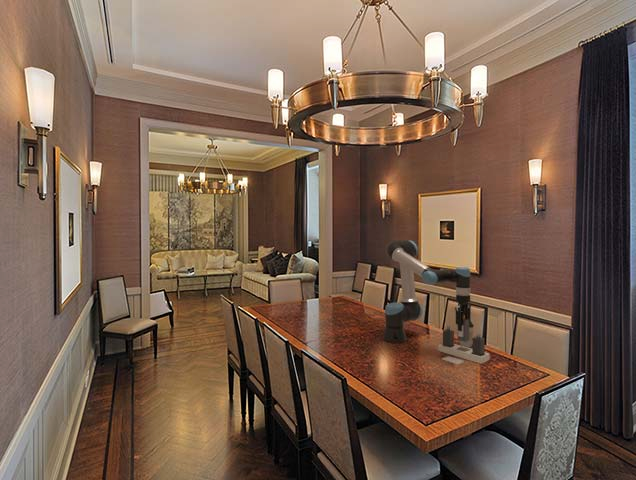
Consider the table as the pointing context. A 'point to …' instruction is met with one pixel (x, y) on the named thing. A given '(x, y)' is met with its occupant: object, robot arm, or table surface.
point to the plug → (465, 330)
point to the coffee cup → (469, 342)
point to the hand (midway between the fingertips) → (463, 335)
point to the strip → (464, 348)
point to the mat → (453, 360)
